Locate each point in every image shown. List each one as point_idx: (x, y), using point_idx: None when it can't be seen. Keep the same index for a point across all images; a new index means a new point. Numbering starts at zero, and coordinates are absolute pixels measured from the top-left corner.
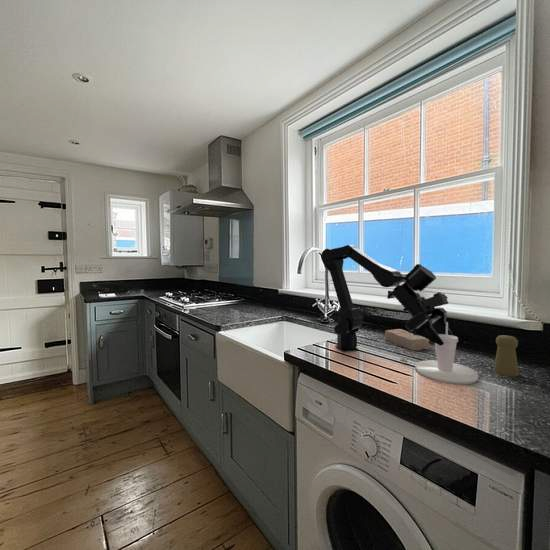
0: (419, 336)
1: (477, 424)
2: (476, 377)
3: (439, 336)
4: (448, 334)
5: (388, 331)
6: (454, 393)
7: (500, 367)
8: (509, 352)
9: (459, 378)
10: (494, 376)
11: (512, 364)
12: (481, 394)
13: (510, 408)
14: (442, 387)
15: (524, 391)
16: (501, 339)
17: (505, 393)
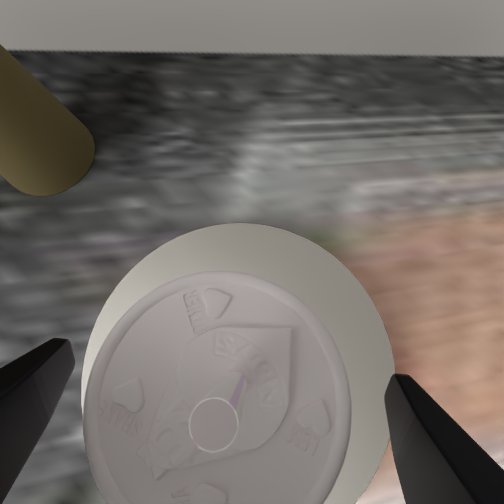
0: None
1: None
2: (265, 225)
3: (249, 469)
4: (30, 403)
5: None
6: (476, 281)
7: (69, 152)
8: (10, 61)
9: (339, 282)
10: (136, 184)
11: (55, 98)
12: (399, 201)
13: (452, 122)
14: (450, 335)
15: (250, 97)
16: None
17: (321, 141)
